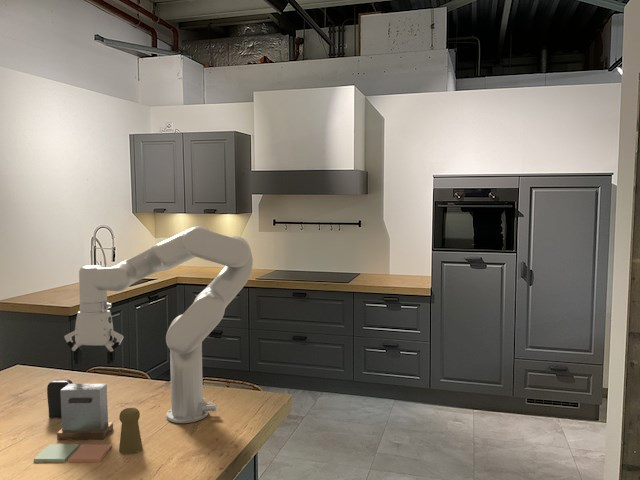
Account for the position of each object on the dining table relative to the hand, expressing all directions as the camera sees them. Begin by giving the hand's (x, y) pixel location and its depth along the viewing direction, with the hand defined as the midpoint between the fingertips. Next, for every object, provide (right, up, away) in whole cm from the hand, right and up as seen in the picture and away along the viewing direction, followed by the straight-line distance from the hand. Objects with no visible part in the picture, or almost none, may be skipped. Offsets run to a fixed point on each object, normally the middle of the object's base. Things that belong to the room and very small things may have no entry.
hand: (94, 363), depth 162 cm
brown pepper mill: (+17, -20, -16) cm, 30 cm away
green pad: (-2, -20, -19) cm, 28 cm away
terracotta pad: (+7, -20, -19) cm, 29 cm away
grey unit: (+1, -19, -7) cm, 20 cm away
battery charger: (-12, -18, +6) cm, 22 cm away
